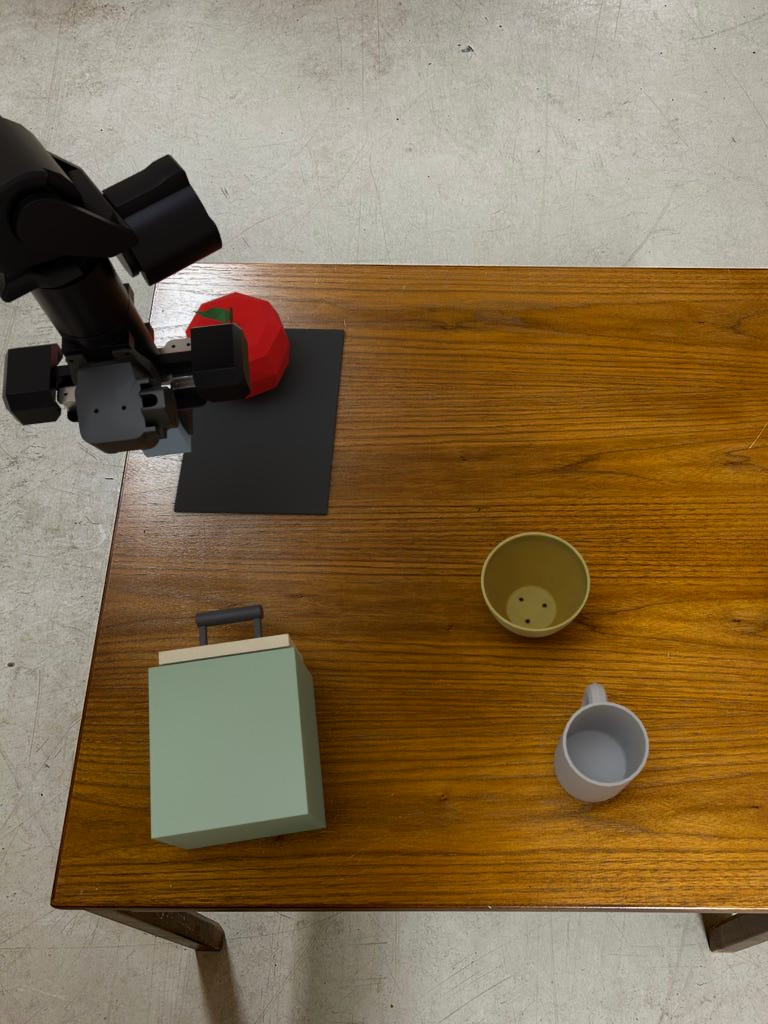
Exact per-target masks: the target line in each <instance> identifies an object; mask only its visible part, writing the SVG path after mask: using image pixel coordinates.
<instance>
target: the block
mask: <svg viewBox="0 0 768 1024" xmlns="http://www.w3.org/2000/svg"><path fill="white" fill-rule="evenodd" d="M178 419H179V426H178V427H177V428H173V429H169V430H168V431H167V439H160V440H159V442H158V444H157V445H156V446H155V447H154V448H152V449H148V450H141V452H142V454H144V456H145V458H153V457H163V456H170V455H178V454H183V453H187V452H191V435H189V434H188V433H187V432H186V430H185V429H184V428H183V425H182V423H181V421H180V418H179V416H178Z"/></svg>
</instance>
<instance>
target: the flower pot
mask: <svg viewBox="0 0 768 1024" xmlns="http://www.w3.org/2000/svg"><path fill="white" fill-rule="evenodd" d="M480 586H481V593H482V596H483V600H484V602H485V604H486V606H487V608H488V610H489V611H490V613H491V614H492V616H493V617H494V619H495V620H496V621H497V622H498V623H499V624H500V625H501V626H503V627H504V628H505V629H506V630H508V631H509V632H511V633H514V634H516V635H519V636H522V637H526V638H542V637H547V636H550V635H553V634H555V633H557V632H560V631H561V630H563V629H565V628H566V627H567V626H569V624H571V623H572V621H574V620H575V619H576V617H578V615H579V614H580V613H581V611H582V610H583V608H584V607H585V606H586V605H585V604H586V603H587V600H588V598H589V595H590V590H591V576H590V571H589V568H588V566H587V563H586V560H585V559H584V557H583V556H582V554H581V553H580V551H579V550H577V549H576V547H574V546H573V545H572V544H571V543H570V542H568V541H566V540H564V539H563V538H561V537H560V536H556V535H554V534H551V533H546V532H539V531H531V532H522V533H517V534H514V535H512V536H510V537H508V538H506V539H503V541H501V542H500V543H498V544H497V545H496V546H495V547H494V548H493V549H492V550H491V552H489V554H488V556H487V557H486V559H485V561H484V563H483V566H482V569H481V575H480ZM520 599H522V601H521V600H520ZM543 605H545V606H546V607H544V606H543ZM526 621H529V622H526Z"/></svg>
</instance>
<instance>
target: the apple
mask: <svg viewBox="0 0 768 1024" xmlns="http://www.w3.org/2000/svg"><path fill="white" fill-rule="evenodd" d="M192 313H195V314H194V316H193V317H192V319H191V320H190V322H189V324H188V326H187V328H186V329H185V336H186V338H191V337H190V328H193V327H201V326H210V325H219V324H228V323H236V324H237V325H238V326H239V327H240V328H242V329H243V332H244V334H245V337H246V340H247V342H248V355H249V370H250V385H251V393H250V394H249V395H248V396H247V397H246V398H245V399H247V398H250V397H252V396H255V395H258V394H260V393H263V392H265V391H268V390H271V389H273V388H276V386H277V384H278V383H279V381H280V379H281V377H282V375H283V373H284V371H285V369H286V367H287V365H288V363H289V340H288V338H287V335H286V333H285V330H284V328H285V327H284V325H283V322H282V320H281V318H280V314H279V313H278V311H277V310H276V309H275V308H274V306H273V305H272V304H271V303H270V301H269V300H266V299H263V298H260V297H255V296H253V295H248V294H245V293H242V292H238V291H234V292H233V291H232V292H231V293H228V294H225V295H222V296H220V297H216V298H213V299H211V300H208V301H206V302H203V303H201V304H200V305H199V307H198V309H197V310H192Z"/></svg>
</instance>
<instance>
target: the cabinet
mask: <svg viewBox="0 0 768 1024" xmlns="http://www.w3.org/2000/svg"><path fill="white" fill-rule="evenodd" d="M147 669H148V670H147V671H148V673H147V674H148V719H149V720H148V722H149V723H148V726H149V727H148V728H149V729H148V730H149V731H148V732H149V734H148V735H149V782H150V783H149V784H150V785H149V786H150V787H149V788H150V789H149V791H150V793H149V795H150V797H149V798H150V838H151V840H155V841H157V842H161V843H164V844H167V845H170V846H173V847H174V846H175V847H177V848H180V849H184V850H187V851H188V850H193V849H200V848H205V847H206V848H207V847H212V846H213V847H214V846H219V845H225V844H231V843H238V842H245V841H250V840H257V839H264V838H270V837H275V836H282V835H289V834H294V833H300V832H308V831H314V830H319V829H320V830H321V829H326V828H327V821H326V811H325V810H326V808H325V800H324V790H323V789H324V787H323V775H322V766H321V765H322V764H321V754H320V743H319V732H318V719H317V709H316V699H315V688H314V676H313V675H312V674H311V672H310V670H309V669H308V667H307V665H306V664H305V663H304V660H303V661H302V659H301V657H300V656H299V654H298V653H297V651H296V649H295V648H294V647H291V648H284V649H277V650H270V651H263V652H256V653H249V654H243V655H236V656H229V657H222V658H215V659H208V660H201V661H194V662H187V663H180V664H173V665H166V666H160V665H159V666H153V667H148V668H147Z"/></svg>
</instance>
